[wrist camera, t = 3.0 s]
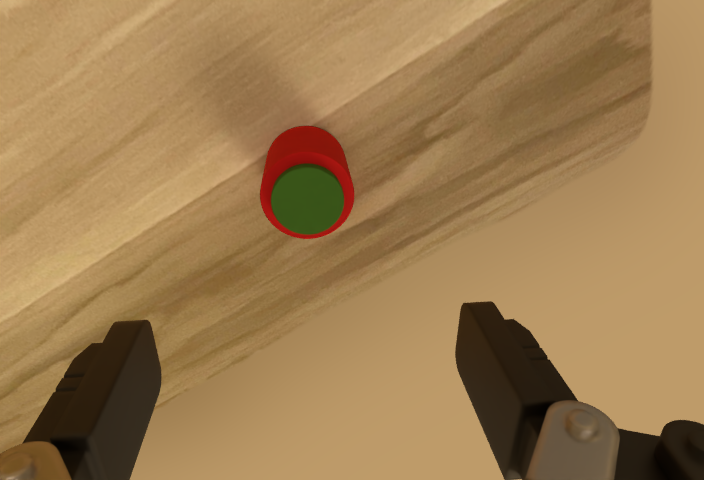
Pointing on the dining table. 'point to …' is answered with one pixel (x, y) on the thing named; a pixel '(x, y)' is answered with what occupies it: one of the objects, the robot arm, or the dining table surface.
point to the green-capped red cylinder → (306, 183)
